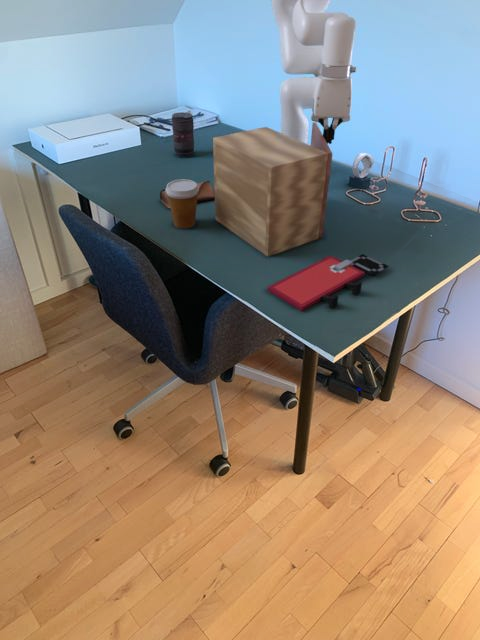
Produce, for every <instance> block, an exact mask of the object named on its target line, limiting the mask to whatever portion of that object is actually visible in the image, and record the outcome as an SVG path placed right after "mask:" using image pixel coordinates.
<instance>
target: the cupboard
mask: <svg viewBox="0 0 480 640" xmlns="http://www.w3.org/2000/svg"><path fill="white" fill-rule="evenodd" d="M212 148H213V149H212V151H213V178H214V179H213V183H214V185H213V187H214V188H213V189H214V191H215V199H214V218H215V219H214V220H215V221H216V222H218V223H219V224H221V225H222V226H223V227H225V228H226V229H228V230H229V231H230V232H232V233H233V234H235V235H237V236H238V237H239V238H240V239H242V240H243V241H245V243H248V244H249V245H250V246H252V247H253V248H254V249H256V250H257V251H259V252H261V254H263V255H264V256H266V257H270V256H274V255H277V254H279V253H282V252H284V251H287V250H290V249H291V250H292V249H293V248H296V247H299V246H302V245H304V244H307V243H310V242H313V241H315V240H319V239H320V238H319V229H320V220H321V211H322V203H323V194H324V185H325V176H326V167H327V159H328V153H327V152H324V151H322V150H319V149H317V148H315V147H312V146H311V144H308V143H307V144H305V143H303V142H301V141H298V140H296V139H294V138H291V137H289V136H286V135H284V134H282V133H281V132H279V131H277V130H274V129H273V128H270V127H268V126H264V127H259V128H253V129H250V130H244V131H239V132H233V133H230V134H225V135H220V136H215V137H212Z"/></svg>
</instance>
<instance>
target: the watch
mask: <svg viewBox="0 0 480 640" xmlns="http://www.w3.org/2000/svg"><path fill="white" fill-rule="evenodd" d="M360 163H362V166H363V169H362V170H361V172H360V169H359V166H360ZM374 164H375V159H374V158H373V156H372V155H371V154H369V153H367V152H360V153H358V154H357V155H356V157H355V158H354V161H353V163H352V167H351V169H352V170H351V171H352V174H351V175H349V178H348V186H351V187H353V188H355V189H358V190H363V189H367V188H369V187H370V185H371V184H370V183H371V177H370V176H367V175H368V174H369V173H370V170H371V169H372V168H373V165H374Z"/></svg>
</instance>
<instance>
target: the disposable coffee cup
mask: <svg viewBox="0 0 480 640" xmlns="http://www.w3.org/2000/svg"><path fill="white" fill-rule="evenodd" d="M197 184H198V183H197V182H195V181H194V180H191V179H186V178H185V179H184V178H183V179H181V178H180V179H174V180H171V181H169V182H168V183H167V184H166V188H164V189H165V191H166V193H167V195H168V199H169V204H170V208H171V209H170V208H169V209H170V212H171V216H172V222H173V225H174V227H176V228H178V229H190V228H193V227H194V226H195V225H196V217H197V204H198V203H197V194H198V191H199V187H198V186H197Z"/></svg>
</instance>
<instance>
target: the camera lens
mask: <svg viewBox="0 0 480 640" xmlns="http://www.w3.org/2000/svg"><path fill="white" fill-rule="evenodd" d="M194 124H195V123H194V115H193V114H192V113H190V112H174V113H172V115H171V128H172V139H173V149H174V153H175V156H176V157H178V158H189V157H192V156H194V150H195V137H194V135H195V134H194V130H195V129H194V128H195V125H194Z"/></svg>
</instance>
